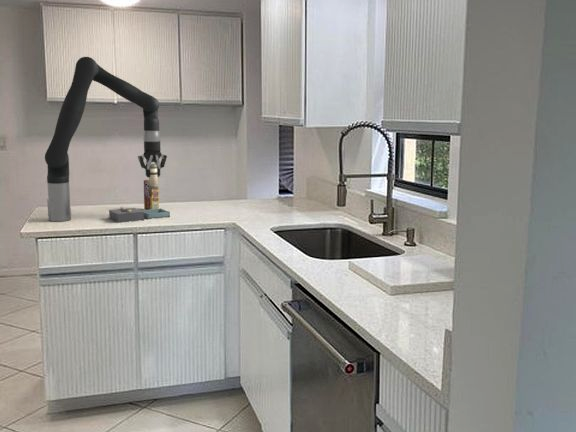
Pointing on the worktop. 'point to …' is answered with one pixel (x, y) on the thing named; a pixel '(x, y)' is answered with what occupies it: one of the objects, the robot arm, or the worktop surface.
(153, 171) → the fuse
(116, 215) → the fuse block
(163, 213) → the tray
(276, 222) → the worktop surface
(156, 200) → the candy box
